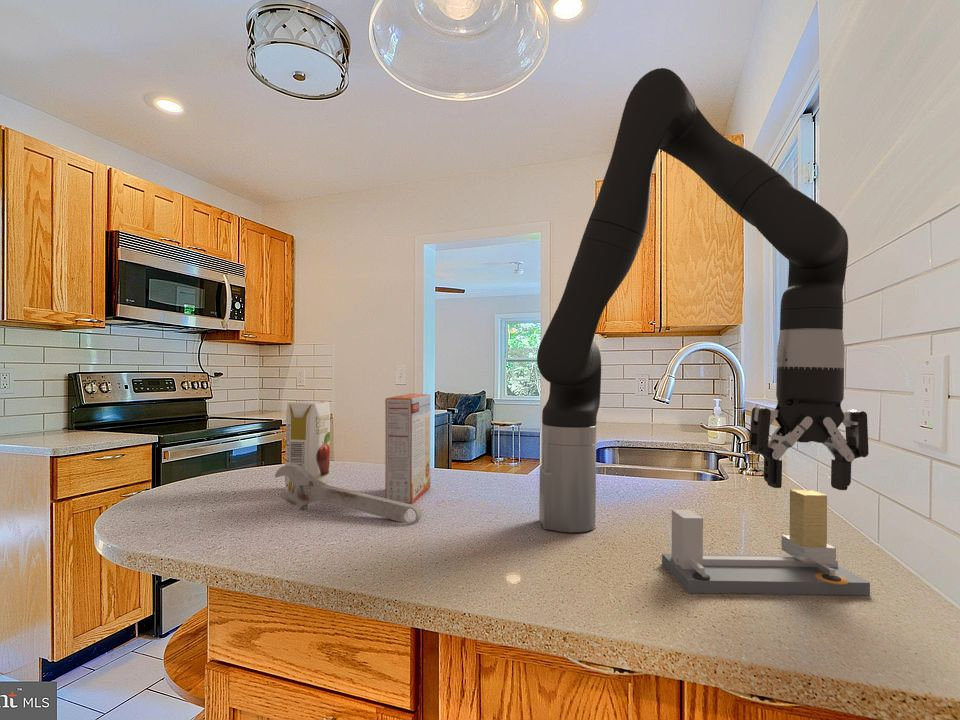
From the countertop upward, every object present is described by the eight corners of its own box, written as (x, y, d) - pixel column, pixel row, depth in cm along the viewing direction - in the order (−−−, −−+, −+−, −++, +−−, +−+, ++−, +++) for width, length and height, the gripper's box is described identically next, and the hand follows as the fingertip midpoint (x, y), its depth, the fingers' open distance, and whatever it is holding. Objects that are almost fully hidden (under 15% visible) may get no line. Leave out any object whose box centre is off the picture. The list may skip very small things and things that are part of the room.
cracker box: (404, 487, 116) (406, 393, 116) (431, 488, 115) (432, 393, 115) (382, 503, 102) (384, 396, 102) (412, 505, 101) (413, 397, 101)
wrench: (414, 541, 89) (271, 504, 98) (419, 538, 91) (277, 502, 100) (420, 495, 89) (276, 462, 98) (424, 492, 90) (282, 460, 100)
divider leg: (815, 575, 64) (816, 501, 64) (781, 554, 71) (781, 487, 71) (848, 575, 64) (848, 502, 64) (810, 554, 71) (811, 488, 71)
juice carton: (280, 494, 108) (281, 402, 108) (300, 485, 116) (302, 400, 116) (314, 496, 106) (315, 403, 107) (332, 487, 115) (334, 401, 115)
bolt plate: (690, 595, 62) (691, 528, 62) (661, 564, 72) (662, 506, 72) (874, 597, 62) (874, 530, 62) (821, 566, 72) (821, 508, 72)
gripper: (771, 363, 65) (768, 493, 65) (885, 366, 65) (882, 496, 65) (741, 363, 72) (738, 480, 72) (843, 366, 72) (841, 483, 72)
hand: (806, 487), depth 68 cm, fingers open, 8 cm apart
